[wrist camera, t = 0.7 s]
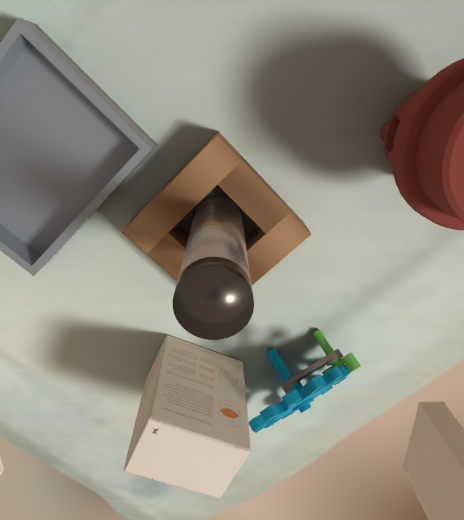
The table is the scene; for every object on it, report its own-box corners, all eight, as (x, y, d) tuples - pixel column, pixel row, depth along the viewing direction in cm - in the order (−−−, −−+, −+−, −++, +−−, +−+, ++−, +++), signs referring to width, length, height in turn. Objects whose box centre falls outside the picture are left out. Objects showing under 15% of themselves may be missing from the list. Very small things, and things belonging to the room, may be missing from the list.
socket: (218, 130, 30) (217, 134, 27) (303, 222, 33) (311, 234, 30) (131, 220, 32) (122, 232, 30) (217, 297, 35) (216, 315, 32)
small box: (145, 376, 38) (119, 472, 29) (166, 331, 37) (146, 418, 27) (221, 402, 40) (220, 502, 30) (245, 361, 38) (252, 452, 28)
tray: (35, 24, 27) (18, 17, 25) (157, 144, 30) (151, 148, 28) (-72, 169, 30) (-97, 175, 28) (46, 263, 34) (33, 275, 31)
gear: (269, 435, 39) (243, 445, 30) (240, 382, 42) (208, 376, 33) (364, 376, 39) (366, 368, 30) (329, 325, 41) (320, 303, 32)
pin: (217, 187, 31) (213, 252, 18) (252, 221, 33) (270, 305, 20) (183, 220, 32) (156, 305, 20) (217, 253, 34) (213, 353, 21)
